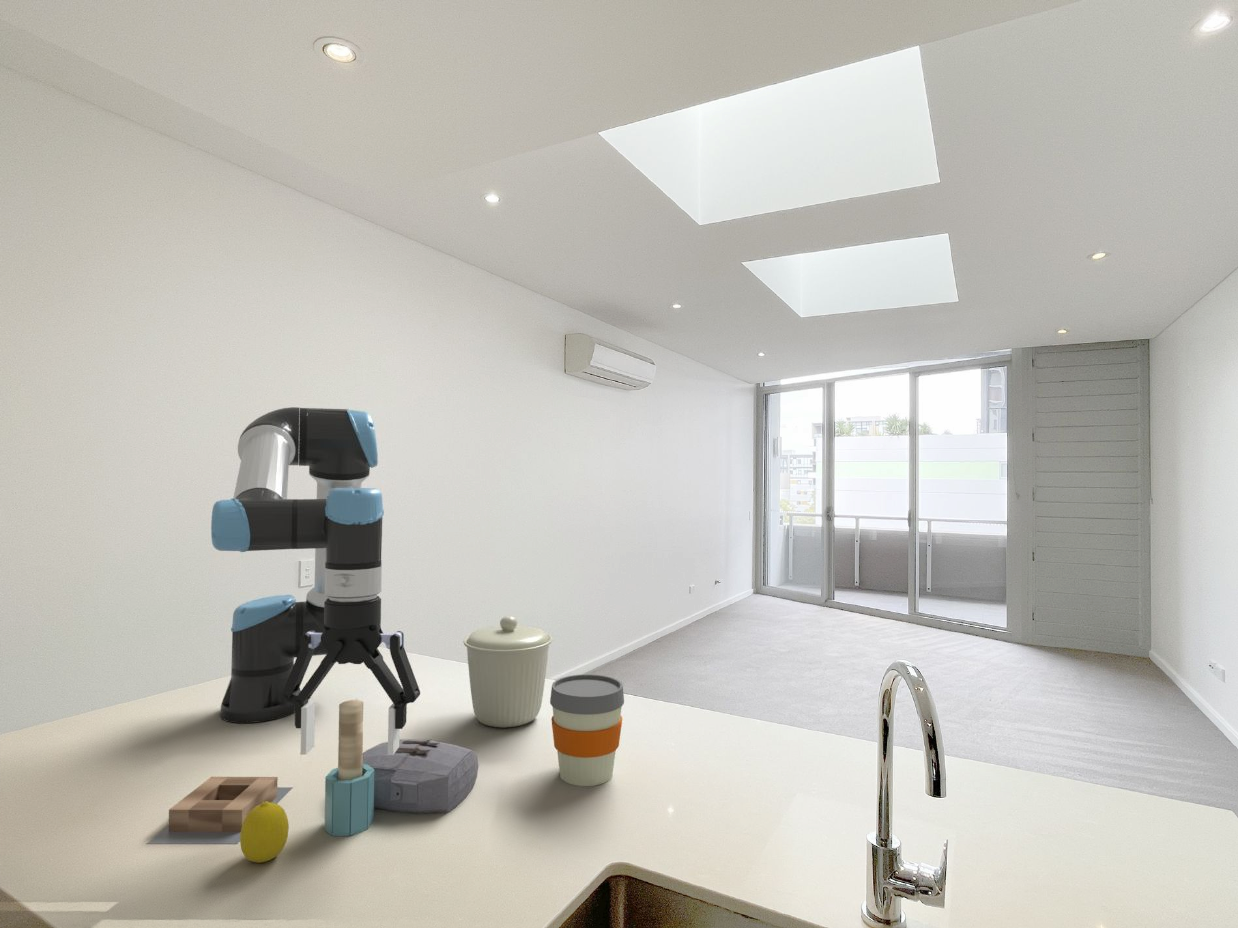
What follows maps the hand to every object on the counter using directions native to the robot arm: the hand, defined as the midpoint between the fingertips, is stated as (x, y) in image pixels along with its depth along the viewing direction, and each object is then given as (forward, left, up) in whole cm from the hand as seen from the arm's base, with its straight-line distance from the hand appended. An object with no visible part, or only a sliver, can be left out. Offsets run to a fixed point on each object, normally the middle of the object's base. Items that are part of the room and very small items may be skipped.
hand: (350, 750), depth 95 cm
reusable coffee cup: (-18, +33, -11) cm, 39 cm away
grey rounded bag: (-10, +5, -12) cm, 16 cm away
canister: (-43, +16, -11) cm, 47 cm away
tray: (-3, -19, -11) cm, 22 cm away
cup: (0, 0, -11) cm, 11 cm away
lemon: (+8, -8, -11) cm, 16 cm away
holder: (-3, -19, -10) cm, 22 cm away
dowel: (0, 0, -10) cm, 10 cm away
